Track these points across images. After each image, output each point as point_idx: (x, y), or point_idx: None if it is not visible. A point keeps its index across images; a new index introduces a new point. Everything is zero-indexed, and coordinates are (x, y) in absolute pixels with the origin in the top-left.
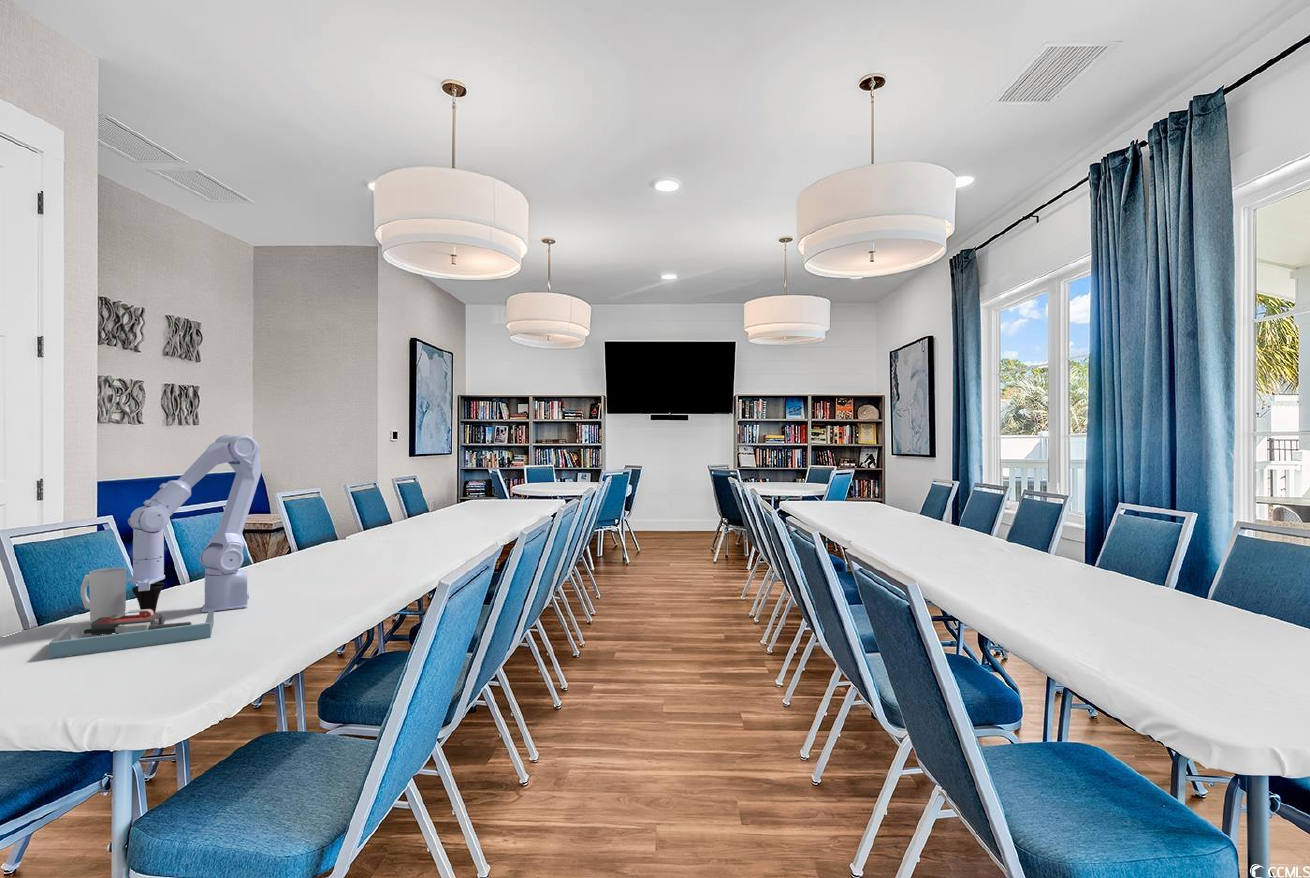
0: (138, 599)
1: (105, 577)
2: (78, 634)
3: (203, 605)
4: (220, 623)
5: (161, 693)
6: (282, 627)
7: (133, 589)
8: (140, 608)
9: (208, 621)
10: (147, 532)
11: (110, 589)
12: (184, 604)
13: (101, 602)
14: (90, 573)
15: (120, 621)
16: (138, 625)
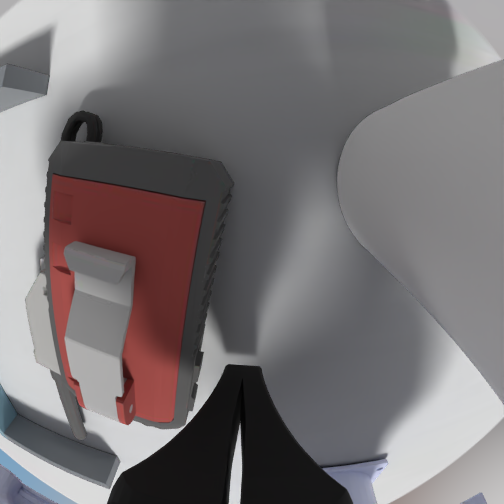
0: (174, 441)
1: None
2: (157, 75)
3: (368, 466)
4: (119, 467)
5: None
6: (68, 481)
7: (109, 499)
8: (210, 395)
9: (13, 441)
10: None
11: (489, 293)
12: (465, 405)
13: (405, 149)
14: None
15: (51, 287)
16: (33, 339)
